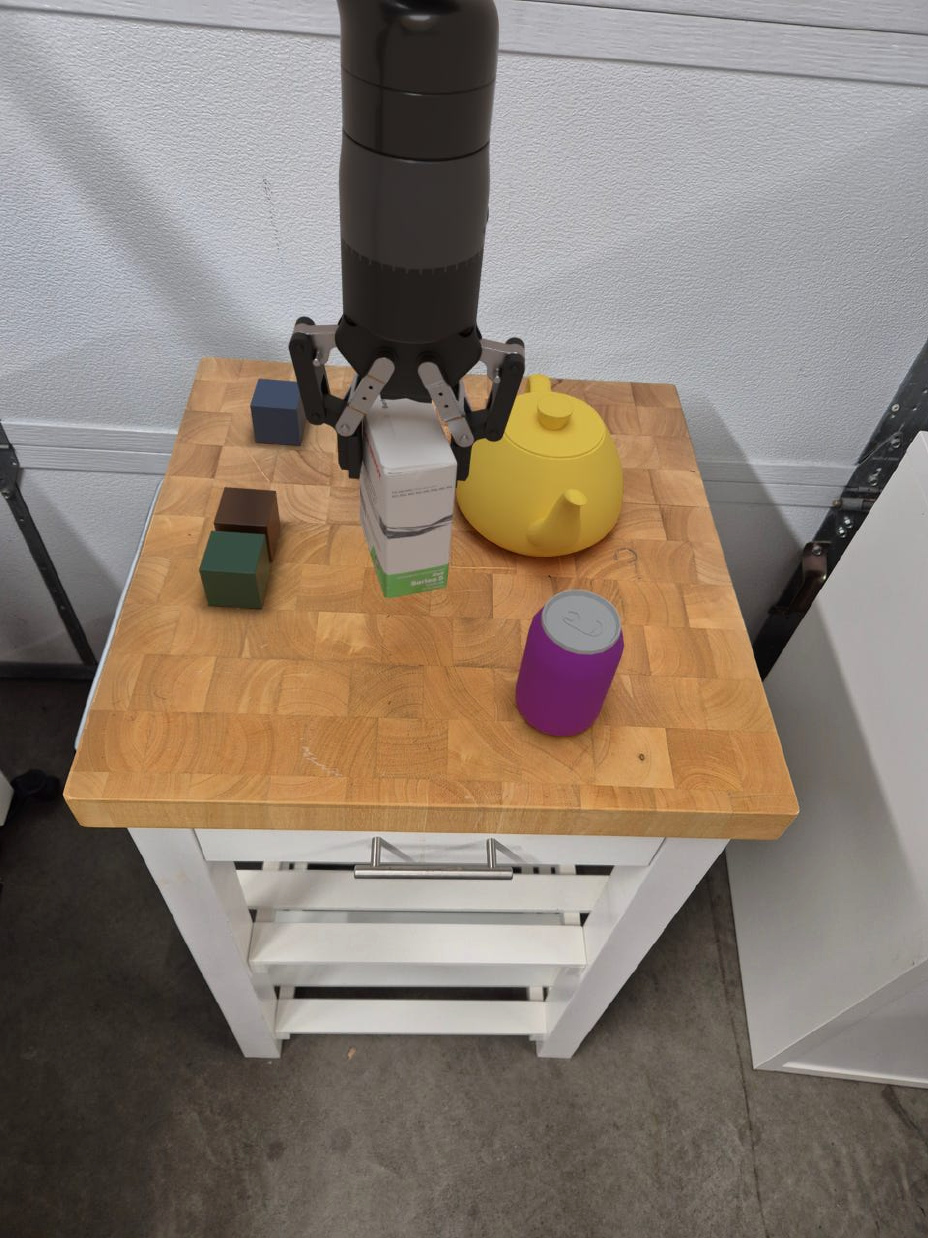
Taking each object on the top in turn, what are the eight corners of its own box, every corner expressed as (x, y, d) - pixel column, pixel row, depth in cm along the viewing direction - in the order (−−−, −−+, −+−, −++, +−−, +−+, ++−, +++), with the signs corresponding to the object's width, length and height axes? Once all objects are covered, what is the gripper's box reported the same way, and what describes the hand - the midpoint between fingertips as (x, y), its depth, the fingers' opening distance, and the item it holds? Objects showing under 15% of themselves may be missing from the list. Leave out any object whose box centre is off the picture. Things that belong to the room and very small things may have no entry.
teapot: (640, 604, 81) (679, 502, 70) (462, 605, 79) (475, 500, 68) (596, 442, 96) (623, 338, 86) (447, 439, 94) (455, 333, 84)
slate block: (255, 442, 91) (249, 405, 88) (263, 414, 95) (258, 377, 91) (300, 445, 92) (296, 409, 88) (306, 418, 95) (303, 381, 91)
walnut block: (221, 559, 80) (213, 522, 76) (231, 523, 83) (224, 486, 79) (272, 562, 80) (267, 526, 76) (280, 527, 83) (276, 490, 80)
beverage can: (498, 717, 71) (516, 632, 62) (534, 656, 76) (556, 568, 66) (579, 756, 69) (610, 674, 60) (611, 691, 74) (644, 606, 64)
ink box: (449, 589, 59) (462, 463, 50) (382, 601, 58) (383, 473, 49) (419, 509, 64) (426, 381, 55) (357, 518, 63) (353, 388, 54)
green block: (207, 605, 76) (198, 569, 72) (219, 566, 79) (210, 530, 76) (261, 609, 76) (255, 573, 73) (270, 570, 80) (265, 533, 76)
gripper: (258, 246, 39) (288, 504, 52) (553, 276, 40) (510, 523, 53) (286, 180, 44) (306, 431, 57) (549, 207, 45) (510, 449, 58)
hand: (404, 474), depth 55 cm, fingers closed on ink box, 6 cm apart
